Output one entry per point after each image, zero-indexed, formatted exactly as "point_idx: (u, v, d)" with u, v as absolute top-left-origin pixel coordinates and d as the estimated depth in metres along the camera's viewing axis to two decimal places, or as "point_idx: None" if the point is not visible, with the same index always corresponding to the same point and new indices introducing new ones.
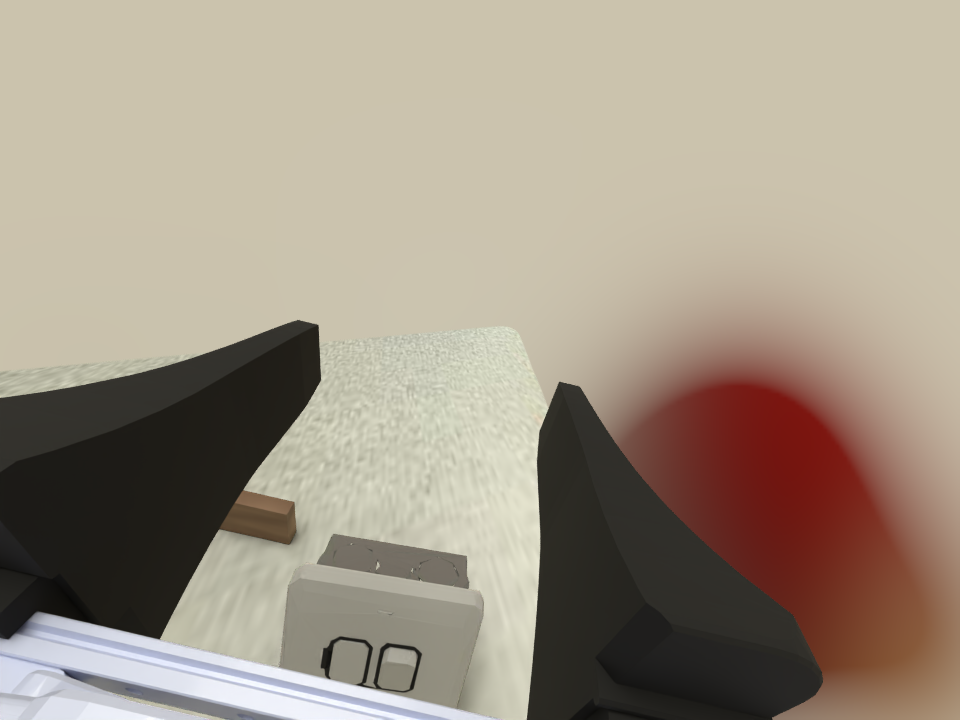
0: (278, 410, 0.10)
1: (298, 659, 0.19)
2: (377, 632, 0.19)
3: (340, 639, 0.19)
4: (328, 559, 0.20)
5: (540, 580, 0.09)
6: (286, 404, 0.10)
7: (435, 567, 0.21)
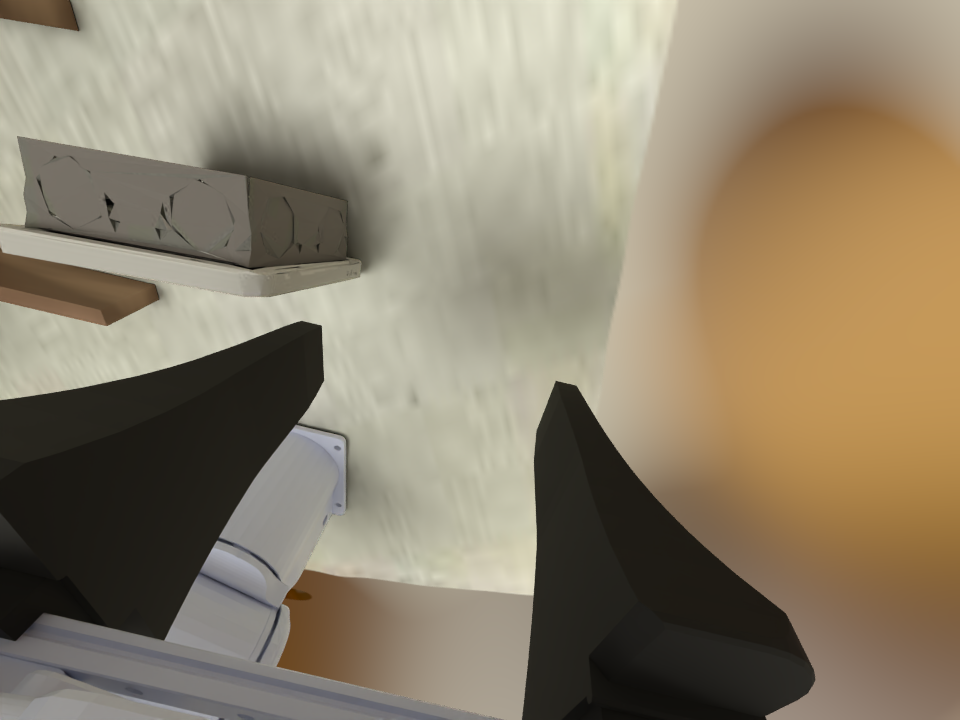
0: (282, 411, 0.10)
1: None
2: None
3: None
4: (37, 195, 0.13)
5: (536, 579, 0.09)
6: (289, 405, 0.10)
7: (197, 205, 0.12)
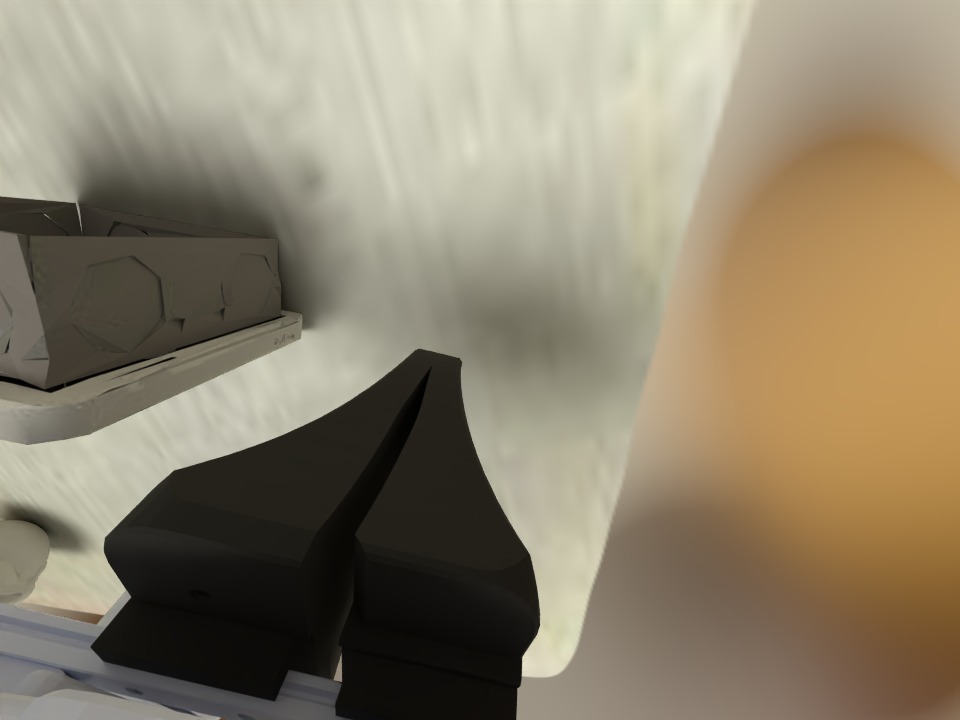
0: None
1: None
2: None
3: None
4: None
5: None
6: None
7: None
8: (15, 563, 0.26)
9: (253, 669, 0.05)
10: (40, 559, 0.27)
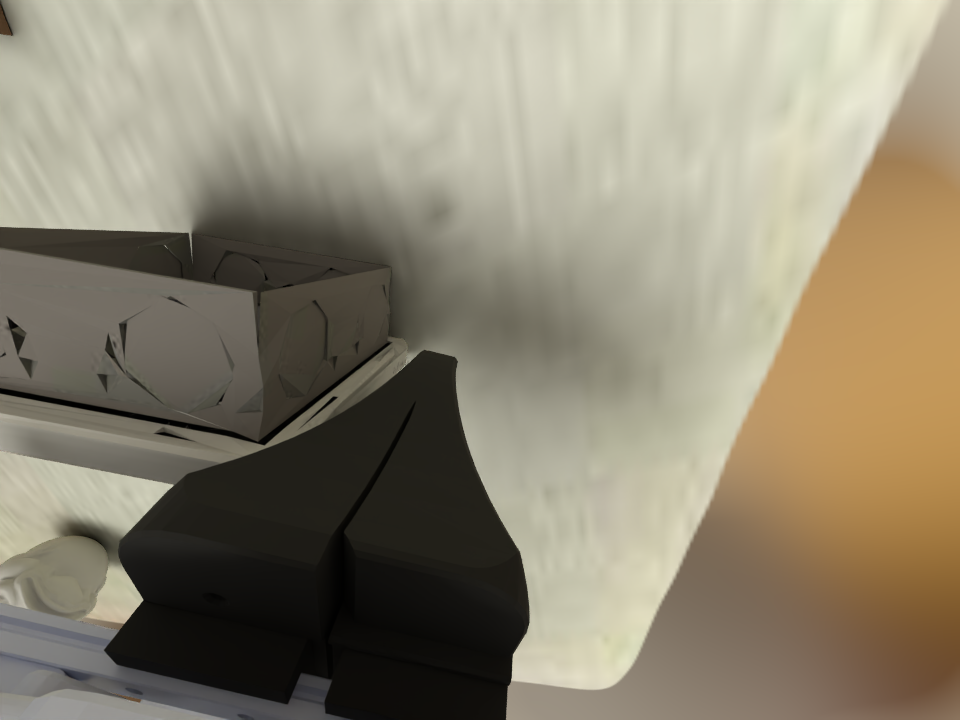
0: None
1: None
2: None
3: None
4: None
5: None
6: None
7: (167, 338, 0.07)
8: (79, 579, 0.26)
9: (267, 672, 0.05)
10: (101, 574, 0.27)
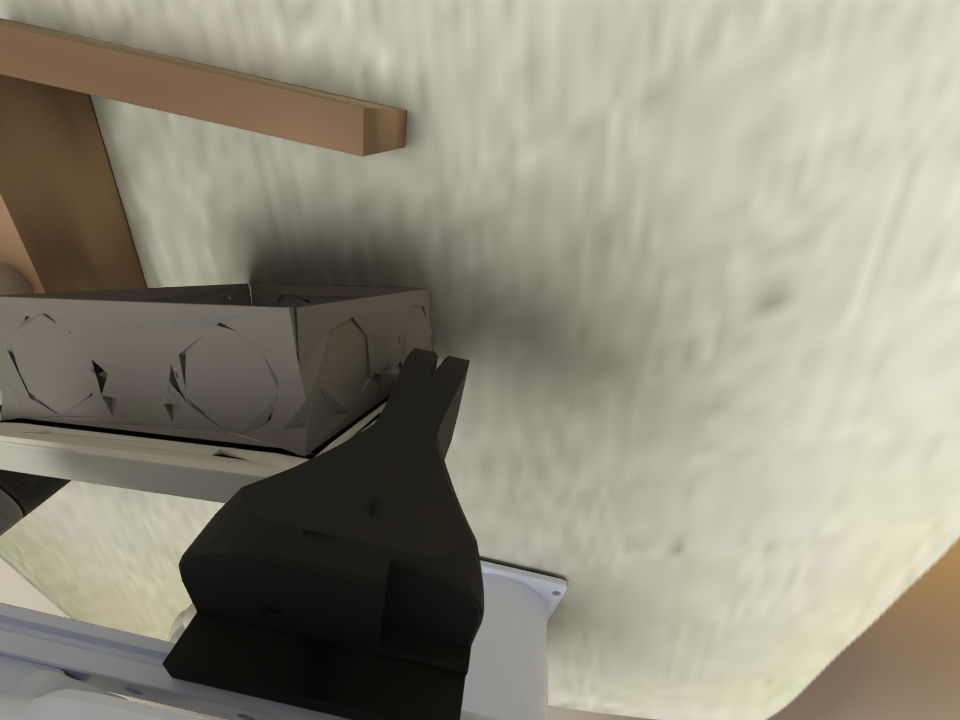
0: (444, 449, 0.10)
1: None
2: None
3: None
4: (11, 374, 0.09)
5: None
6: (447, 442, 0.10)
7: (220, 363, 0.08)
8: None
9: (325, 685, 0.05)
10: None
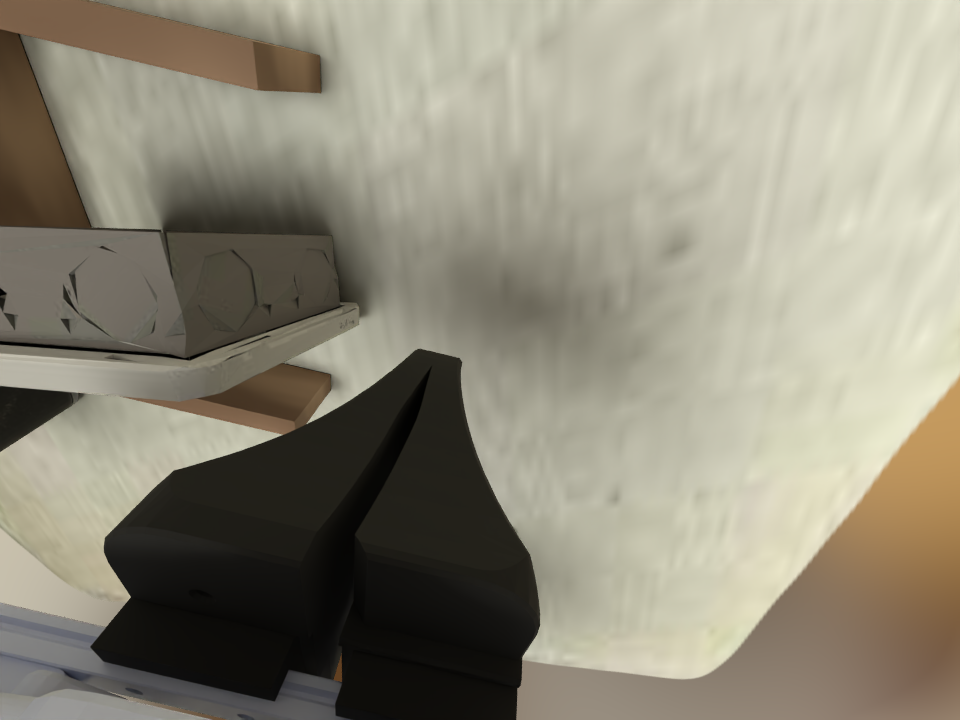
0: None
1: None
2: None
3: None
4: None
5: None
6: None
7: (106, 281, 0.09)
8: None
9: (254, 669, 0.05)
10: None
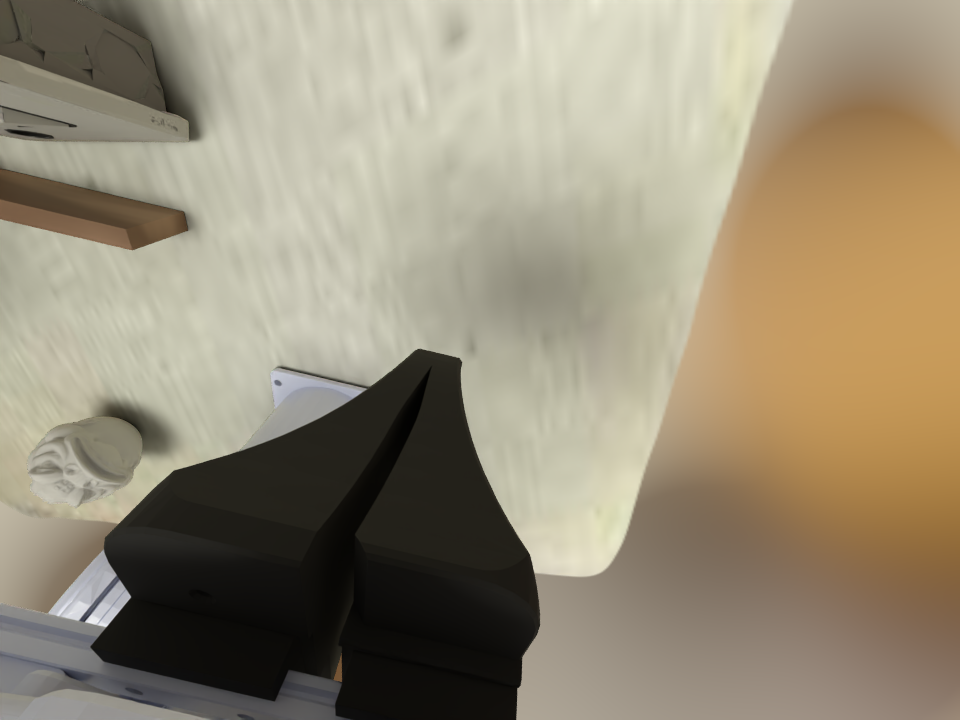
0: None
1: None
2: None
3: None
4: None
5: None
6: None
7: None
8: (119, 450, 0.28)
9: (255, 669, 0.05)
10: (137, 451, 0.30)
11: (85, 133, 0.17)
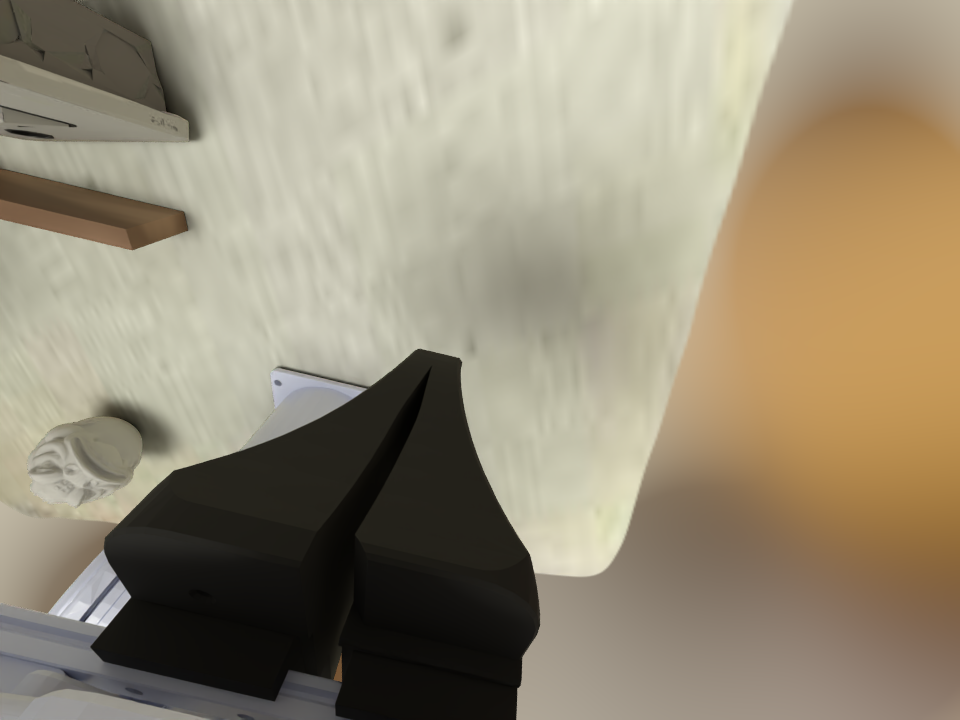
0: None
1: None
2: None
3: None
4: None
5: None
6: None
7: None
8: (119, 450, 0.28)
9: (255, 669, 0.05)
10: (137, 451, 0.30)
11: (85, 133, 0.17)
